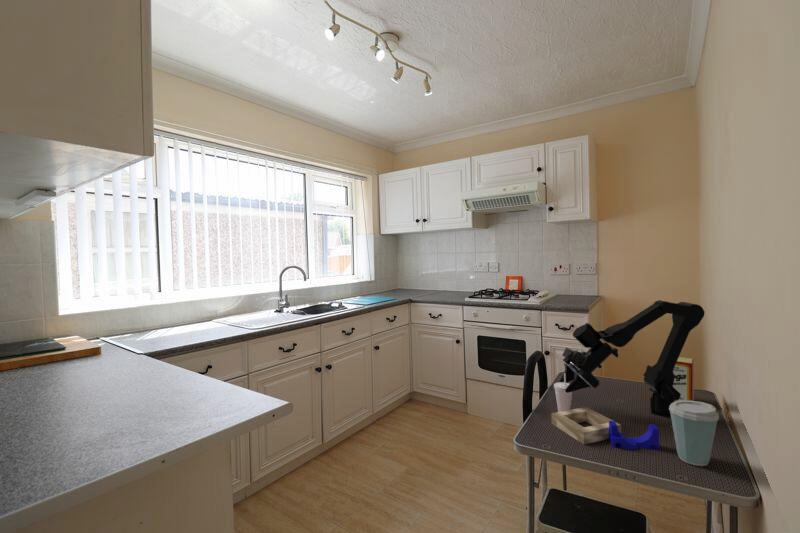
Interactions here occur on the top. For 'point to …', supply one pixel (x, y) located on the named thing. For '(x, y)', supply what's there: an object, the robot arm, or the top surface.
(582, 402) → the top surface
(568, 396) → the smoothie
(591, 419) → the bottle stand
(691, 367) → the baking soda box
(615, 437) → the cable clip
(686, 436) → the disposable coffee cup
